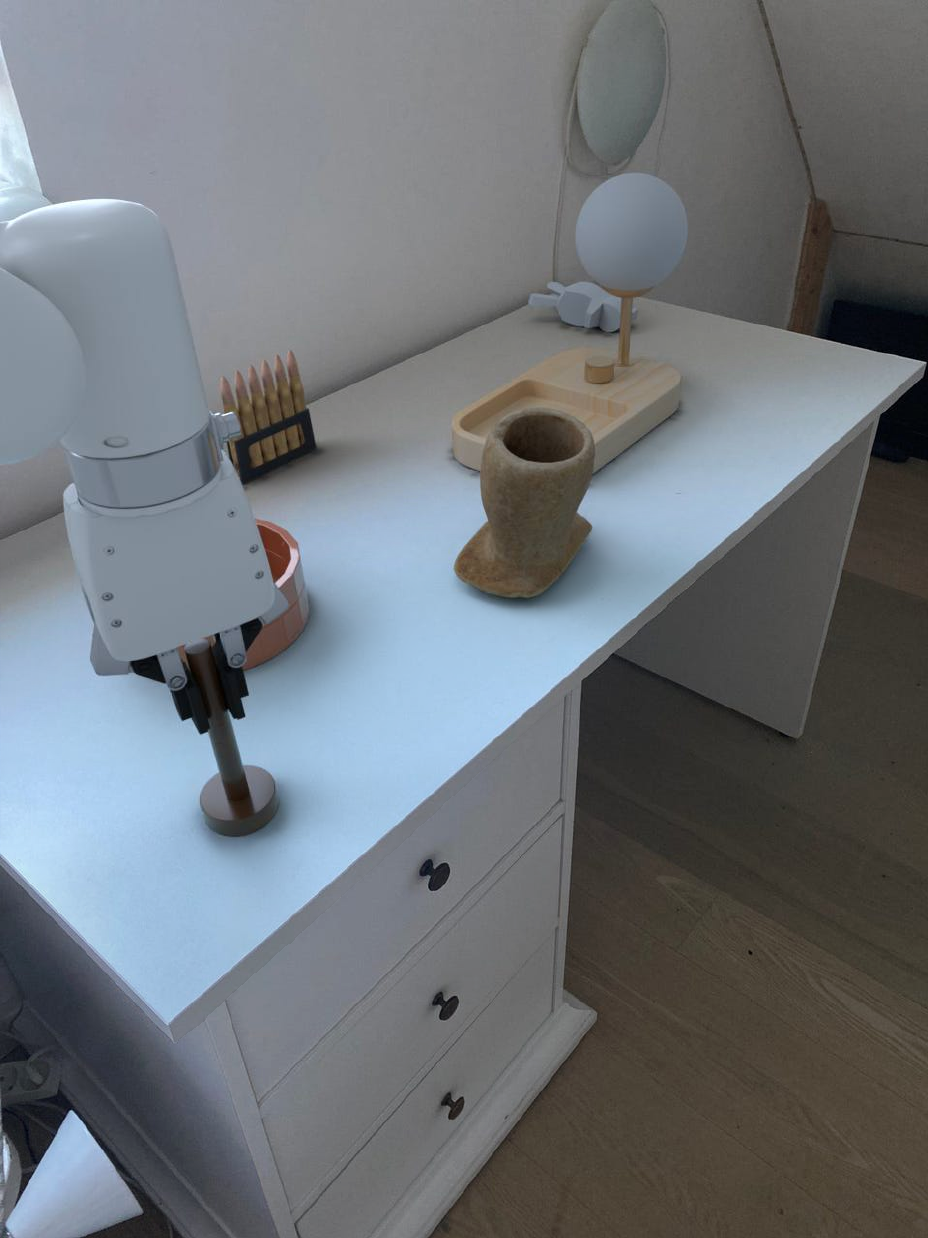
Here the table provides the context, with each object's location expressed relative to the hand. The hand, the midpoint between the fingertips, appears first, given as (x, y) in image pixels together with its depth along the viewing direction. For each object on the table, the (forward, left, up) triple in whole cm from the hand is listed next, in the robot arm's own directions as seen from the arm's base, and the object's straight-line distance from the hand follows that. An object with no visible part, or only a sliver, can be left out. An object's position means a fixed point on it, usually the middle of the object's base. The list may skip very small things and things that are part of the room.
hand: (215, 712), depth 61 cm
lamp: (+55, +36, -9) cm, 66 cm away
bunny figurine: (+75, +62, -9) cm, 98 cm away
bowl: (+6, +22, -9) cm, 25 cm away
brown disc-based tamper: (0, 0, -9) cm, 9 cm away
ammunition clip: (+21, +47, -9) cm, 52 cm away
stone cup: (+34, +14, -9) cm, 38 cm away
